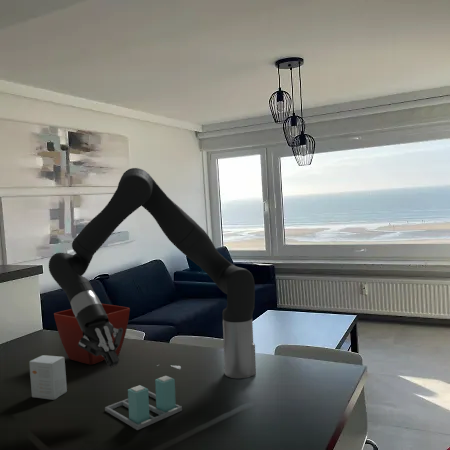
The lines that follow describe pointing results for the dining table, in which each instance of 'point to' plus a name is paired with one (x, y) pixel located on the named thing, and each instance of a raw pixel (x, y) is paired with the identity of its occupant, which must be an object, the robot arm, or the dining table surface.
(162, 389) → the tab
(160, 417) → the switch board
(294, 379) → the dining table surface
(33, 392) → the small box
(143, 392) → the tab
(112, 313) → the plant pot
